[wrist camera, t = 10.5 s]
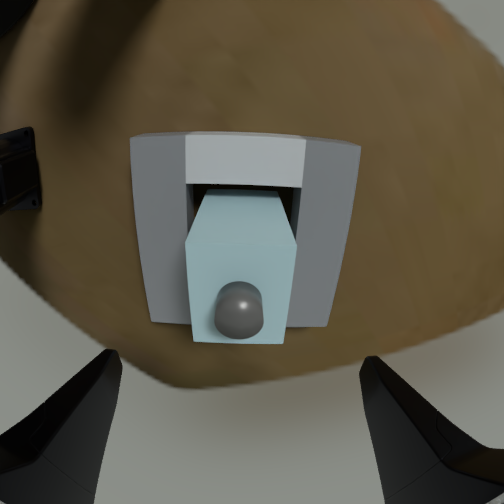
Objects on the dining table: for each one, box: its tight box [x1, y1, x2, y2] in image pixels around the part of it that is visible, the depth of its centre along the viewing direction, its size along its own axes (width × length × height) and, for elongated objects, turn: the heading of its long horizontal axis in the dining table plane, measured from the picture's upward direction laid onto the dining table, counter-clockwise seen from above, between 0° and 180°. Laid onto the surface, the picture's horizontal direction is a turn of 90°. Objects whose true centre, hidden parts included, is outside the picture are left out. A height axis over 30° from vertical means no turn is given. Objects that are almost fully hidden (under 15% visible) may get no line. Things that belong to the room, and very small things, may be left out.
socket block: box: [130, 132, 361, 327], centre depth 19 cm, size 13×13×2 cm
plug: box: [185, 189, 297, 344], centre depth 16 cm, size 4×6×10 cm
